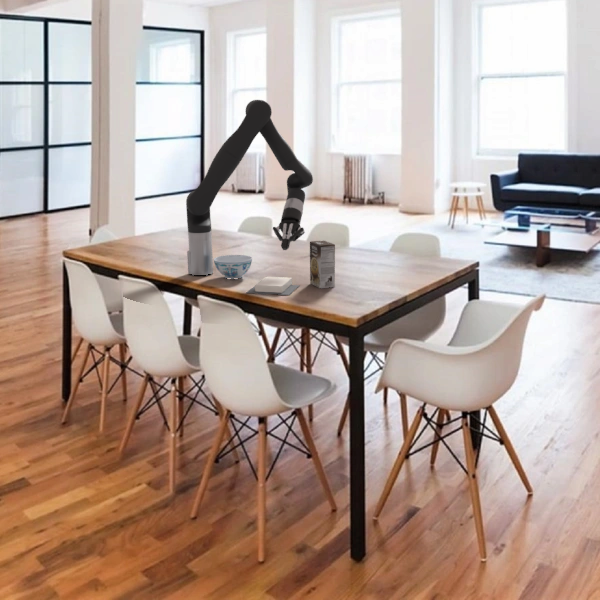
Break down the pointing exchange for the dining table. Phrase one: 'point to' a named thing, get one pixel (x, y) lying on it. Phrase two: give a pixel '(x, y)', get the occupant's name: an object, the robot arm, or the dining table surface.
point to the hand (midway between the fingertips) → (284, 248)
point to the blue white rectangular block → (273, 284)
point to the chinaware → (233, 265)
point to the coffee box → (322, 264)
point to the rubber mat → (286, 292)
